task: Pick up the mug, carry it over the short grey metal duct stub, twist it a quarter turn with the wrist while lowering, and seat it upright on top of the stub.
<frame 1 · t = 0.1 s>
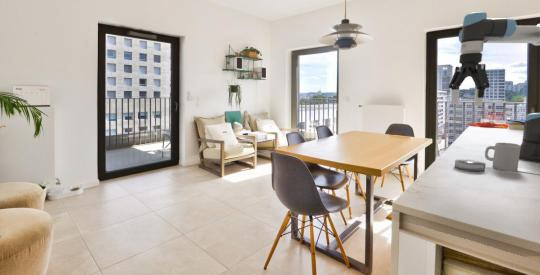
hand: (465, 105, 120), 28 cm above the worktop, fingers open, 13 cm apart
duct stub: (469, 168, 125), on the worktop
mug: (499, 168, 126), on the worktop
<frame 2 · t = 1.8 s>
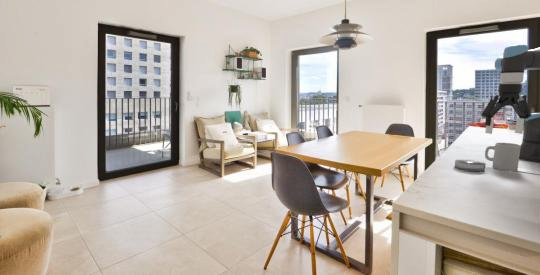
hand: (503, 133, 123), 16 cm above the worktop, fingers open, 13 cm apart
nothing on the worktop moved.
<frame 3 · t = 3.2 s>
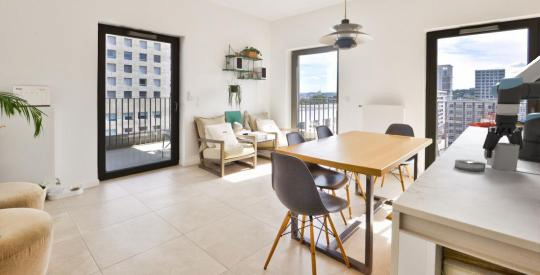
hand: (500, 164, 125), 1 cm above the worktop, fingers open, 9 cm apart
mug: (498, 168, 126), on the worktop, touching gripper
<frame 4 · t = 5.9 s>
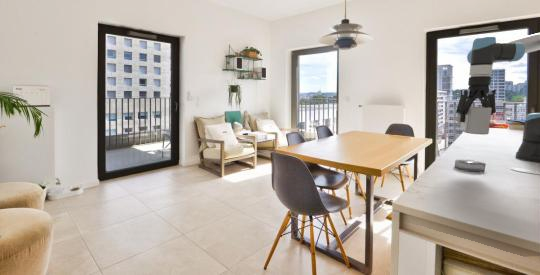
hand: (473, 129, 122), 17 cm above the worktop, fingers closed on mug, 9 cm apart
mug: (471, 133, 122), point 16 cm above the worktop, touching gripper
when the fingers open (6 cm above the worktop, at t = 8.4 s): mug drops 1 cm, resting on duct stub.
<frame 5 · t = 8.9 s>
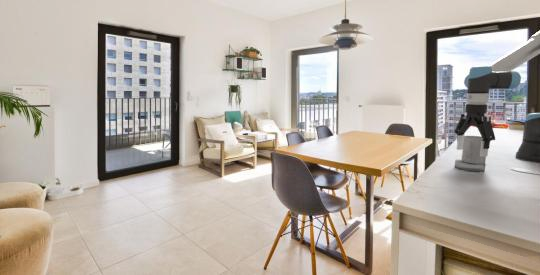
hand: (471, 152, 124), 7 cm above the worktop, fingers open, 13 cm apart
mug: (471, 162, 124), point 3 cm above the worktop, touching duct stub
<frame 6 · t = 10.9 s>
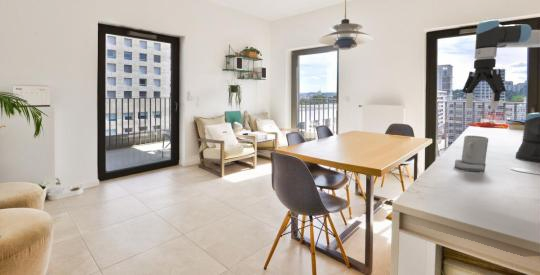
hand: (480, 108, 126), 26 cm above the worktop, fingers open, 13 cm apart
nothing on the worktop moved.
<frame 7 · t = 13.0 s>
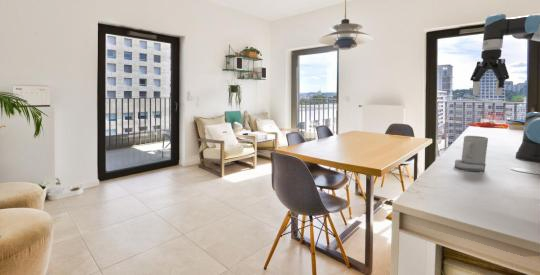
hand: (486, 94, 138), 32 cm above the worktop, fingers open, 13 cm apart
nothing on the worktop moved.
at the end: mug inside the target area on the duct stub (0.8 cm from its centre), point 2.8 cm above the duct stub's base; mug tilted 0°; the gripper is holding nothing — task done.
